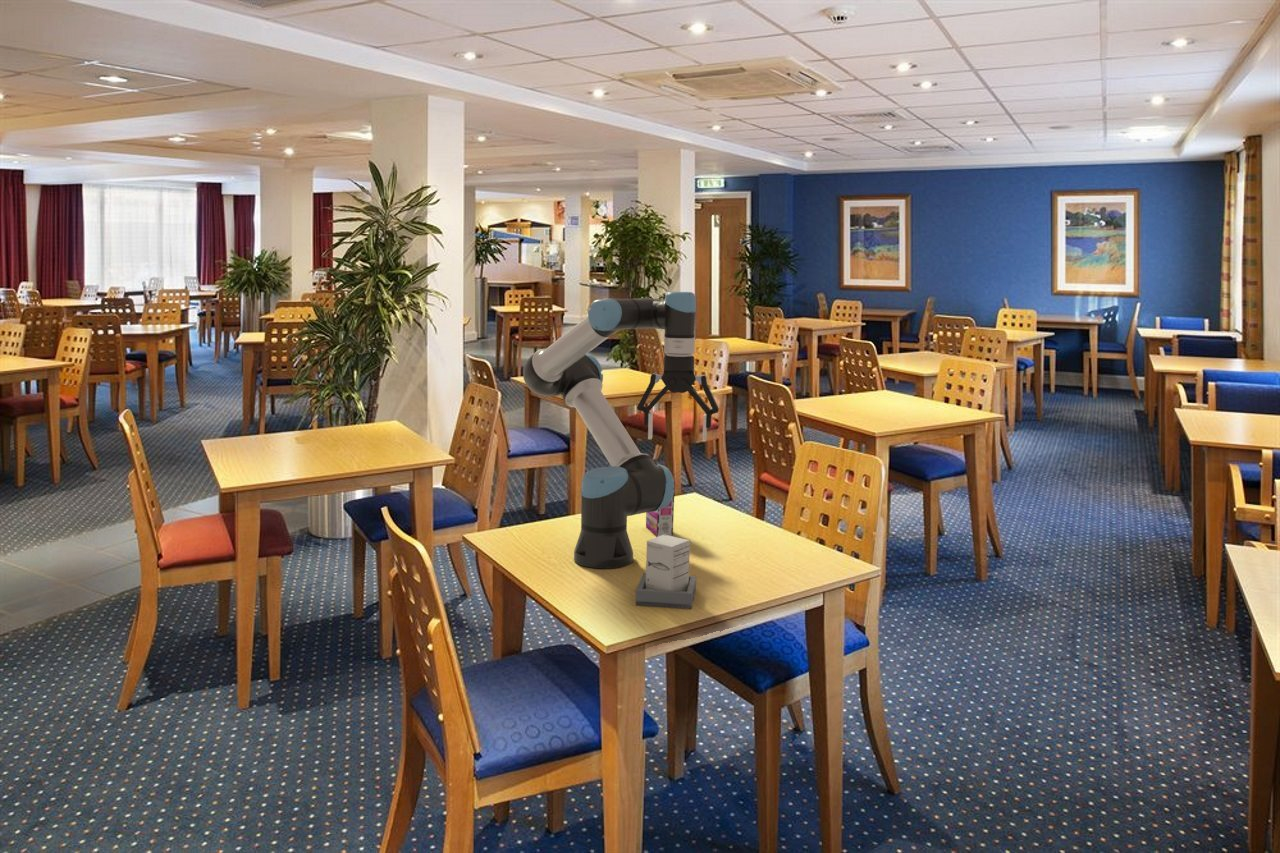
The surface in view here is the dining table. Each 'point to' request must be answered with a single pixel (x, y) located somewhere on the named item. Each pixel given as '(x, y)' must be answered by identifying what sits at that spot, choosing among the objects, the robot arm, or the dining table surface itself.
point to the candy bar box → (661, 520)
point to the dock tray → (665, 595)
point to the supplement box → (667, 563)
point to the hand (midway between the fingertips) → (677, 439)
